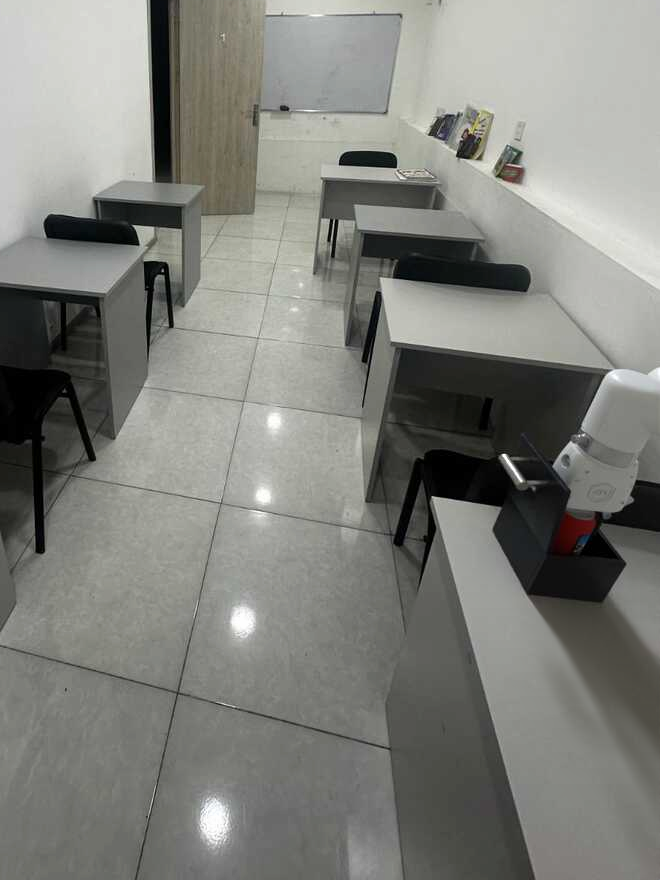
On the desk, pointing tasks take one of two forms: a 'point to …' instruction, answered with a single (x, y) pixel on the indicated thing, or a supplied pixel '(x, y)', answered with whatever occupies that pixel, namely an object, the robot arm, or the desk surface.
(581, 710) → the desk surface
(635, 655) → the desk surface
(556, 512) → the lid
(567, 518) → the beverage can
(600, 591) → the box
